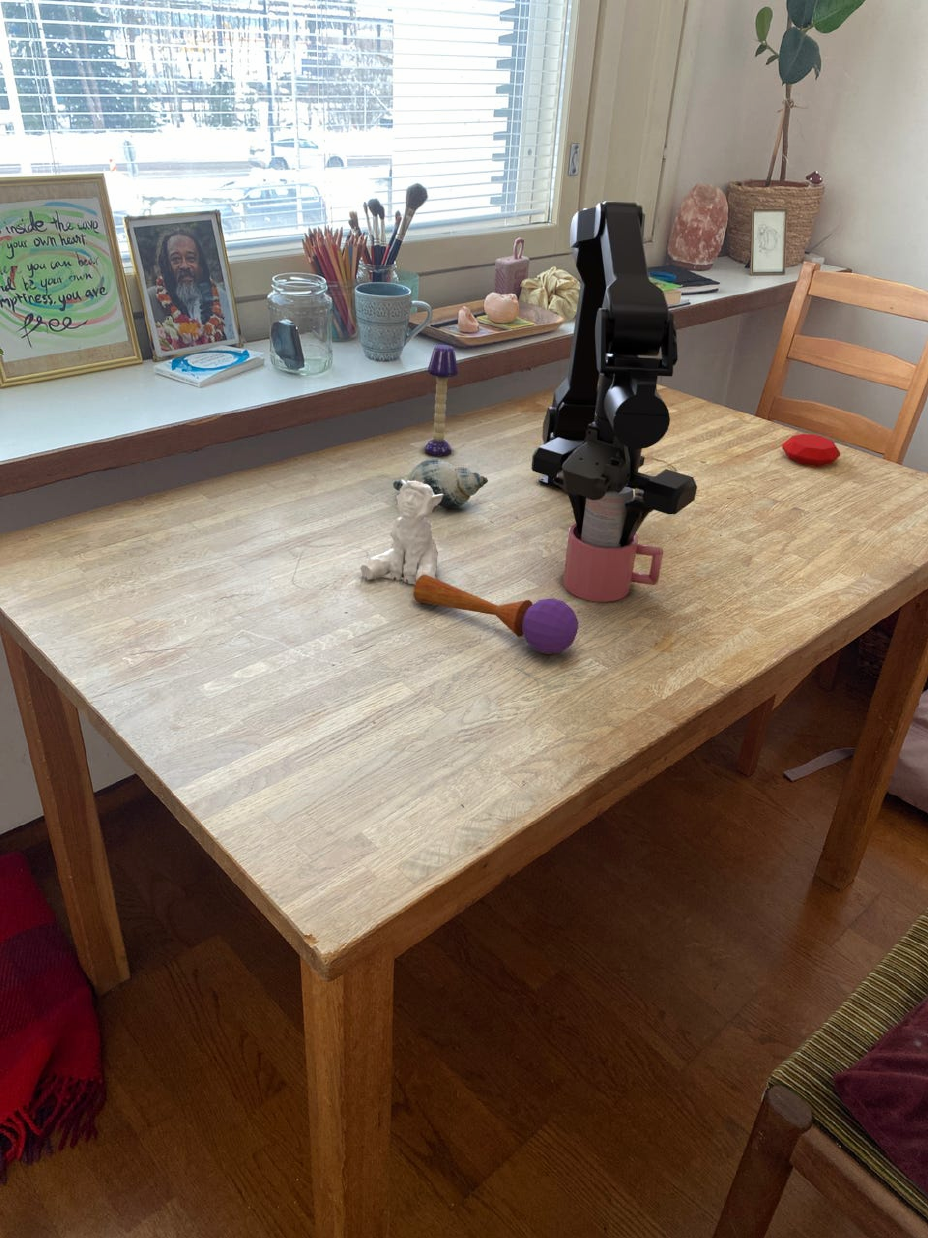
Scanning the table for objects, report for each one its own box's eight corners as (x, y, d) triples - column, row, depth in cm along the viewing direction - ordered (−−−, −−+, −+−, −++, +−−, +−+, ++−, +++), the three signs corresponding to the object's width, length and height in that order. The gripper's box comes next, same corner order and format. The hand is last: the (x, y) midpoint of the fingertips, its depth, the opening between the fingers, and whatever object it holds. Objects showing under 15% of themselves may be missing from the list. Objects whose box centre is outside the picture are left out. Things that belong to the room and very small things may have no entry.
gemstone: (791, 444, 162) (795, 427, 160) (843, 457, 158) (848, 440, 156) (773, 458, 156) (777, 441, 154) (827, 473, 151) (831, 455, 150)
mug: (559, 596, 113) (566, 544, 109) (566, 565, 120) (572, 515, 116) (655, 609, 111) (665, 557, 108) (656, 577, 118) (665, 527, 114)
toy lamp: (427, 444, 153) (431, 341, 144) (456, 447, 153) (461, 344, 144) (422, 454, 149) (425, 349, 140) (451, 457, 149) (456, 352, 140)
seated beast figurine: (358, 579, 114) (356, 487, 108) (390, 550, 121) (391, 462, 114) (428, 597, 111) (431, 504, 105) (457, 566, 118) (462, 477, 112)
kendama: (438, 559, 111) (590, 600, 101) (434, 606, 113) (583, 652, 103) (408, 568, 106) (565, 613, 96) (404, 618, 108) (558, 666, 98)
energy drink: (624, 568, 117) (638, 480, 110) (615, 589, 112) (629, 498, 106) (582, 559, 118) (594, 471, 112) (571, 579, 114) (583, 489, 107)
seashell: (421, 495, 139) (480, 521, 133) (387, 487, 134) (447, 514, 127) (434, 454, 138) (495, 478, 131) (401, 444, 132) (462, 469, 125)
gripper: (511, 412, 103) (500, 539, 111) (665, 457, 94) (642, 591, 102) (562, 389, 111) (549, 509, 119) (710, 428, 102) (685, 555, 110)
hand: (602, 540), depth 113 cm, fingers closed on energy drink, 5 cm apart
